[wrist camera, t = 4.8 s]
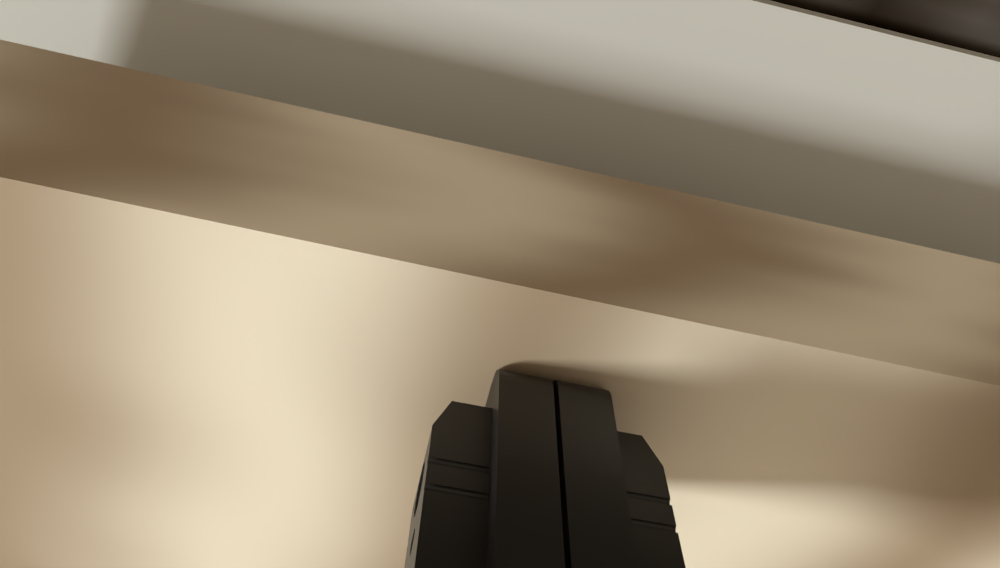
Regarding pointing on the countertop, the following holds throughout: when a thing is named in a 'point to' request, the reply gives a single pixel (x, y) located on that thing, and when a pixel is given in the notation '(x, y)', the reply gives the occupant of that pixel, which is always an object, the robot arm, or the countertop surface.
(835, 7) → the countertop surface
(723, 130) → the underlay mat
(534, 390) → the robot arm
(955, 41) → the countertop surface
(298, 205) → the birch plank
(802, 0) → the countertop surface
